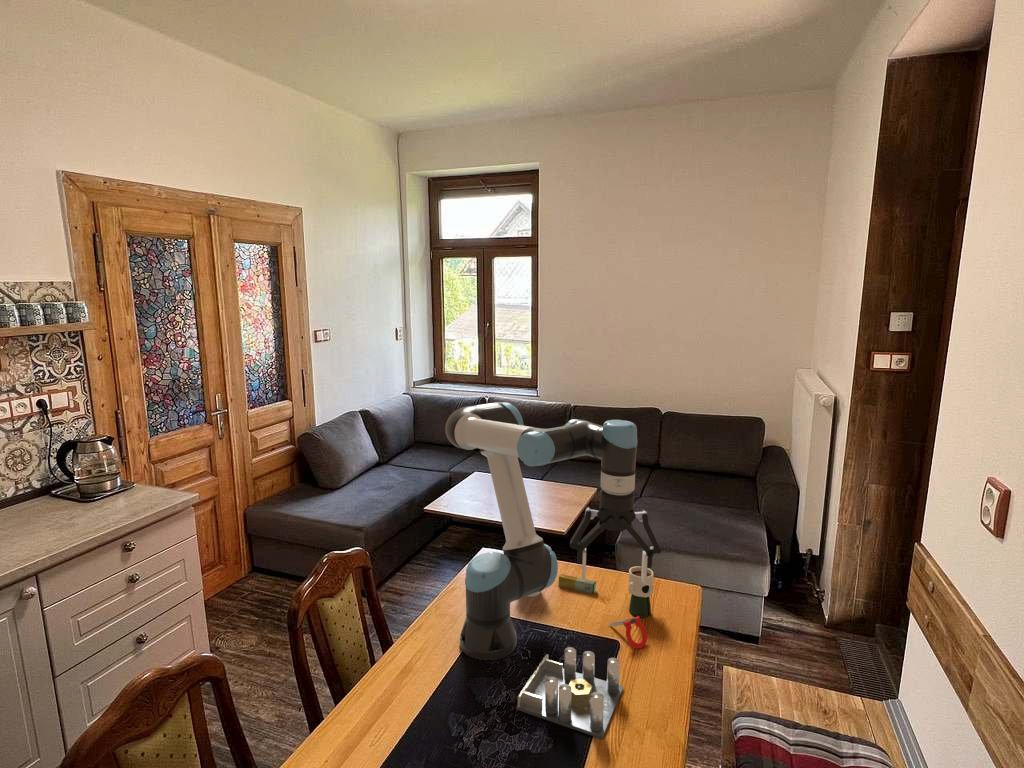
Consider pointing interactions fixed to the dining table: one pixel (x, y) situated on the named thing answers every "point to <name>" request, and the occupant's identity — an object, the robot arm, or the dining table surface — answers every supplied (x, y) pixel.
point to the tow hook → (628, 631)
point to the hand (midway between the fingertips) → (613, 578)
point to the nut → (580, 692)
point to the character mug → (640, 591)
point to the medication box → (577, 584)
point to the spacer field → (554, 694)
